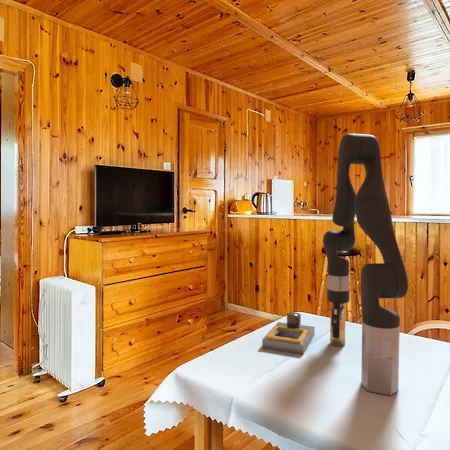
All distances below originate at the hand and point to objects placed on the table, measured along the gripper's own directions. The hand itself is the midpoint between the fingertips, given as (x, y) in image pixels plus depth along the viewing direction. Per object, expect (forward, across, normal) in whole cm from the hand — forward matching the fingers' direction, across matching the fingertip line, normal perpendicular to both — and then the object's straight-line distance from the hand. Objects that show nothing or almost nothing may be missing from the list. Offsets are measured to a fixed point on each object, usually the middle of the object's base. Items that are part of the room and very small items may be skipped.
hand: (337, 333), depth 128 cm
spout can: (+4, 0, 0) cm, 4 cm away
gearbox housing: (+4, -4, +16) cm, 17 cm away
